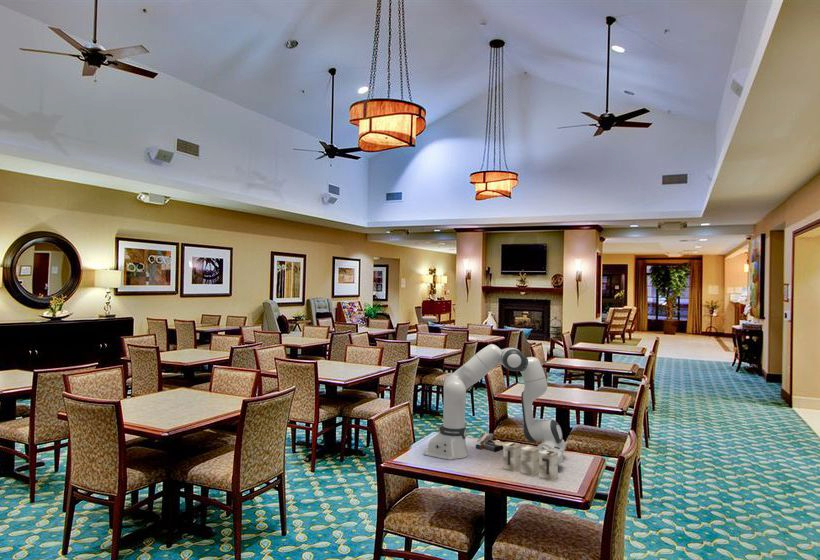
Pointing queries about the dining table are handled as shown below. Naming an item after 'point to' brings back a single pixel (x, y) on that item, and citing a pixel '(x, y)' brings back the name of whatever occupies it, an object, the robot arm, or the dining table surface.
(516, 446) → the block one
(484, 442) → the toy gun
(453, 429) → the robot arm
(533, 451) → the plain block
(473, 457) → the dining table surface
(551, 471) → the block seven
